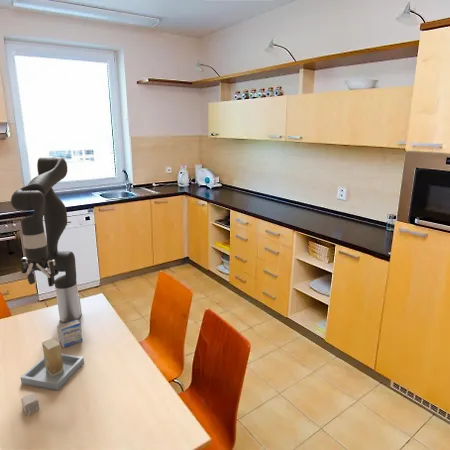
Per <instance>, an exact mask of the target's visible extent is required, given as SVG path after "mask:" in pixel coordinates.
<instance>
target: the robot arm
mask: <svg viewBox="0 0 450 450" xmlns="http://www.w3.org/2000/svg"><path fill="white" fill-rule="evenodd" d="M36 165H37V166H36V169H37V174H38V175H36V176H35V177H33V178H32V179H31V180H30V182H28V184H26V185H24V186H22V187H21V188H18V189H16V190H15V191H14V192H13V193H12V195H11V198H10V203H11V206H12V208H13V209H14V210H16V211H20V212H25V211H26V212H27V211H29V212H30V211H33V214H32V215H28V216H25V217H22V218H21V219H20V227H21V232H22V243H23V248H24V253H25V257H22V258H20V260H19V263H20V270H21V274H22V275H23V274H25V275H26V276H27V281H28V284H29V285H34V284H35V282H36V278H35V273H34V271H39V272H42V274H44V275H46V278H47V284H48V287H51V288H52V287H53V286H54V288H55V296H56V302H57V309H58V315H59V321H60V322H62V323H68V322H71V321H74V320H76V319H77V320H79V319H80V318H81V317H82V316H81V315H82V313H83V311H82V305H81V304H82V303H81V297H80V295H79V291H78V284H77V268H76V257H75V254H74V252H73V251H64V250H63V251H62V250H61V251H58V245H59V240H60V238H61V236H62V235H63V233H64V231H65V229H66V227H67V224H68V213H67V208H66V207H67V206H66V205H65V204H64V202H63V201H62V200H61V199H60V197H59V196H58V195H57V194H56V192H55V190H54V189H53V187H54V186H55V185H56V184H58V183H59V182H61V181H62V180H63V179H64V178H65V177H67V174H68V163H67V161H66V160H65V158H64V157H60V156H55V157H54V156H42V157H39V158H38V159H37V164H36ZM59 272H61V273H62V272H63V273H65V274H64V275H60V276H58V275H59ZM55 276H58V277H57V278H55Z"/></svg>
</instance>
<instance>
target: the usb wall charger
mask: <svg viewBox="0 0 450 450" xmlns="http://www.w3.org/2000/svg"><path fill="white" fill-rule="evenodd" d="M20 401H21V405H22V408H23V410H24V413H25V415H26V416H29V415H30V416H32V413H35V412H39V410H40V403H39V400H38V397H37V396H36V394H35V392H30V393H29V394H26V395H24V396H22V397H21V399H20Z"/></svg>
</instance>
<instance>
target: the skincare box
mask: <svg viewBox="0 0 450 450" xmlns="http://www.w3.org/2000/svg"><path fill="white" fill-rule="evenodd" d="M41 345H42V352H43V353H42V354H43V357H44V360H45V367H46V371H47V372H48V373H49V374H50V376H51V377H52V378H53V377H55V376H57V375H59V374H61V373H63V372H64V369H63V362H62V354H63V353H62V348H61V347H62V346H61V343H59V342H58V340H56V339H55V338H54V337H52V338H49V339H47V340H45V341H42V342H41ZM61 353H62V354H61Z"/></svg>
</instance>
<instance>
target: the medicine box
mask: <svg viewBox="0 0 450 450" xmlns="http://www.w3.org/2000/svg"><path fill="white" fill-rule="evenodd" d="M57 328H58V334H59V341H60V343H59V344H60V345H61V347H63V348H67V347H70V346H72V345H75V344H77V343H80V342H82V341H83V334H82V323H81V322H80V321H79V319H76V320H74V321H71V322H64V323H63V324H60V325H58V326H57Z"/></svg>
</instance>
